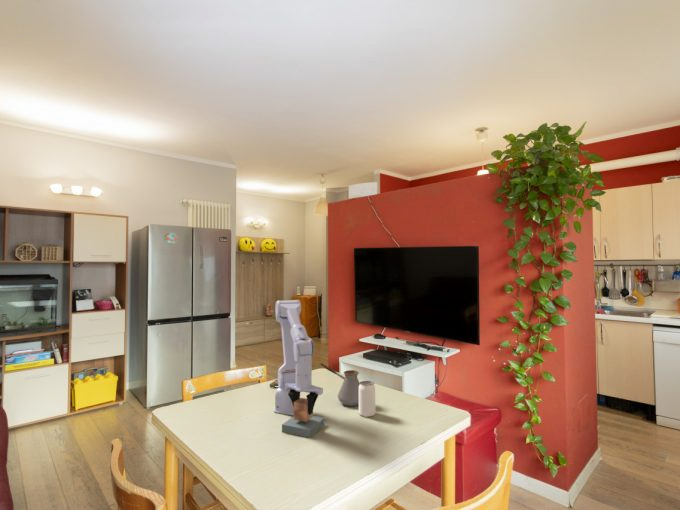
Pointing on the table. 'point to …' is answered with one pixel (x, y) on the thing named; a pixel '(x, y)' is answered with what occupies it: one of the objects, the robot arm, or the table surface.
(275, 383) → the mineral rock
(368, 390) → the can
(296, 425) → the base
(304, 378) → the robot arm
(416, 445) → the table surface
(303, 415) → the block
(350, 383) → the coffee pot
